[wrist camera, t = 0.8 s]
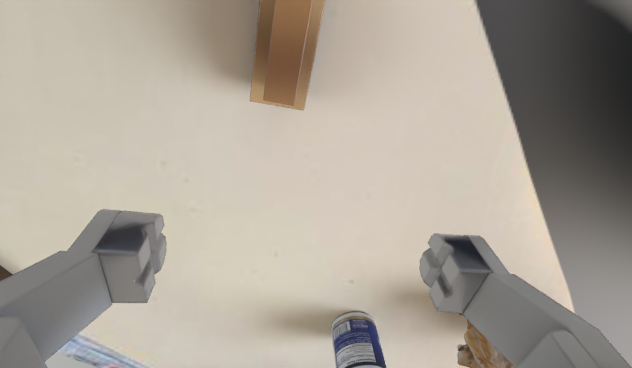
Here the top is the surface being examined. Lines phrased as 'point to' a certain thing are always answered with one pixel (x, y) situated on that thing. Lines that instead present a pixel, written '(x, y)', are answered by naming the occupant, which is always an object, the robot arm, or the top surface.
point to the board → (4, 274)
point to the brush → (285, 51)
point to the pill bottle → (356, 342)
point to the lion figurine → (480, 351)
